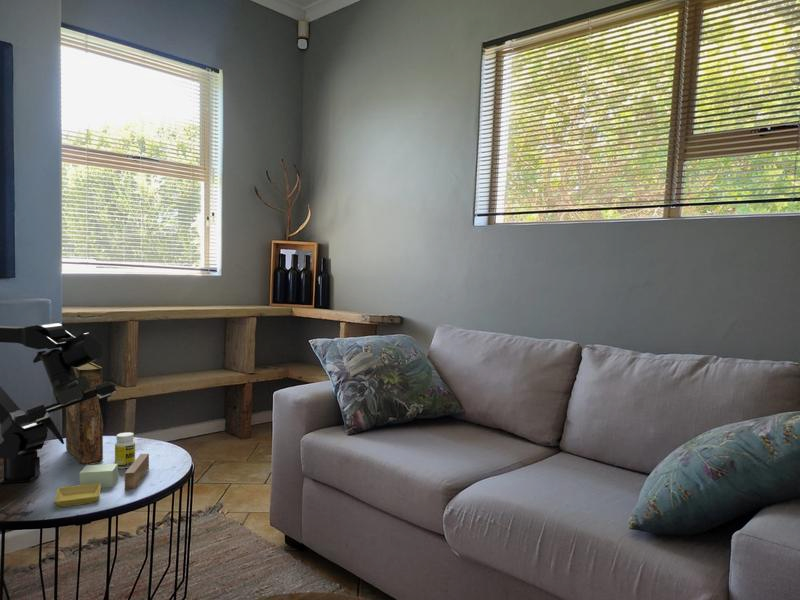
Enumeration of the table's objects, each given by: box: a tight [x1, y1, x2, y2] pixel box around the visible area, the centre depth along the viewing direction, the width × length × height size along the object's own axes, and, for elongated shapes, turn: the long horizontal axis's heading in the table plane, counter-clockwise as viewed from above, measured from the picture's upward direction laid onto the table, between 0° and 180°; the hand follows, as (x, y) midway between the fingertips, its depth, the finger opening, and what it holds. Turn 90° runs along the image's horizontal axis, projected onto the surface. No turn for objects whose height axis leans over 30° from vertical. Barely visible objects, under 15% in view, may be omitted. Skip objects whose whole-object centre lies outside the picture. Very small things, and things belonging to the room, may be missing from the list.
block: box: [79, 463, 119, 488], centre depth 135 cm, size 7×5×4 cm
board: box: [124, 453, 150, 491], centre depth 138 cm, size 2×14×4 cm, turn 11°
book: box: [65, 361, 104, 466], centre depth 154 cm, size 16×6×25 cm, turn 43°
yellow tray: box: [53, 483, 102, 508], centre depth 126 cm, size 9×9×2 cm
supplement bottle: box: [114, 432, 136, 470], centre depth 147 cm, size 5×5×8 cm
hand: (85, 435), depth 134 cm, fingers open, 9 cm apart
